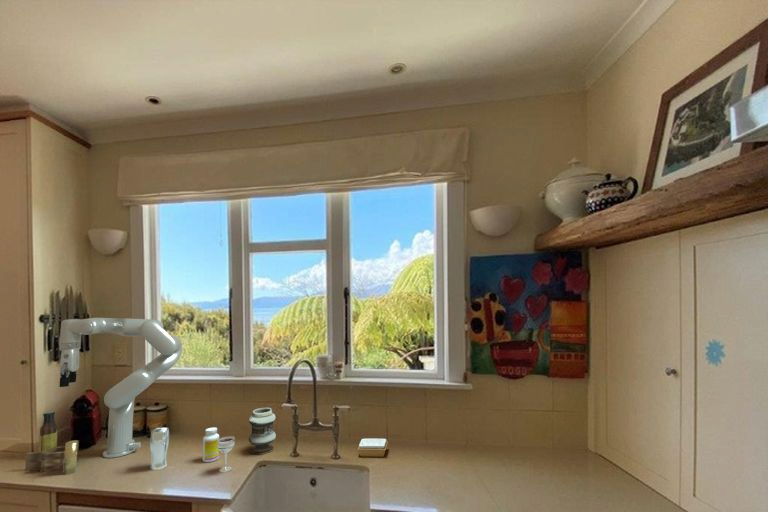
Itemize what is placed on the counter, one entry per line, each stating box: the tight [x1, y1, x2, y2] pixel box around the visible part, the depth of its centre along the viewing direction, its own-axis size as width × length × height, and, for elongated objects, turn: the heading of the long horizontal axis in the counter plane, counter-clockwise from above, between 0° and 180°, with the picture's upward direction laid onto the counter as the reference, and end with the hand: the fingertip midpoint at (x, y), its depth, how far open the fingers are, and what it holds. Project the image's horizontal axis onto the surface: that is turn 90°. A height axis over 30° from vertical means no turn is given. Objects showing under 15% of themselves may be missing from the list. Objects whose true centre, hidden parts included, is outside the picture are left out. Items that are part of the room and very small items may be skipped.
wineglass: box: [217, 435, 236, 473], centre depth 158 cm, size 7×7×12 cm
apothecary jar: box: [248, 407, 277, 455], centre depth 178 cm, size 12×12×18 cm
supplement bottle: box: [201, 427, 220, 463], centre depth 169 cm, size 7×7×13 cm
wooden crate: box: [24, 440, 80, 474], centre depth 167 cm, size 16×16×7 cm
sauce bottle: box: [38, 410, 58, 452], centre depth 176 cm, size 7×6×20 cm
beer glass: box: [149, 426, 170, 471], centre depth 162 cm, size 7×7×15 cm
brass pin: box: [63, 439, 79, 475], centre depth 159 cm, size 4×4×12 cm
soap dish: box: [357, 438, 389, 458], centre depth 171 cm, size 12×10×5 cm
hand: (67, 384), depth 174 cm, fingers open, 9 cm apart
